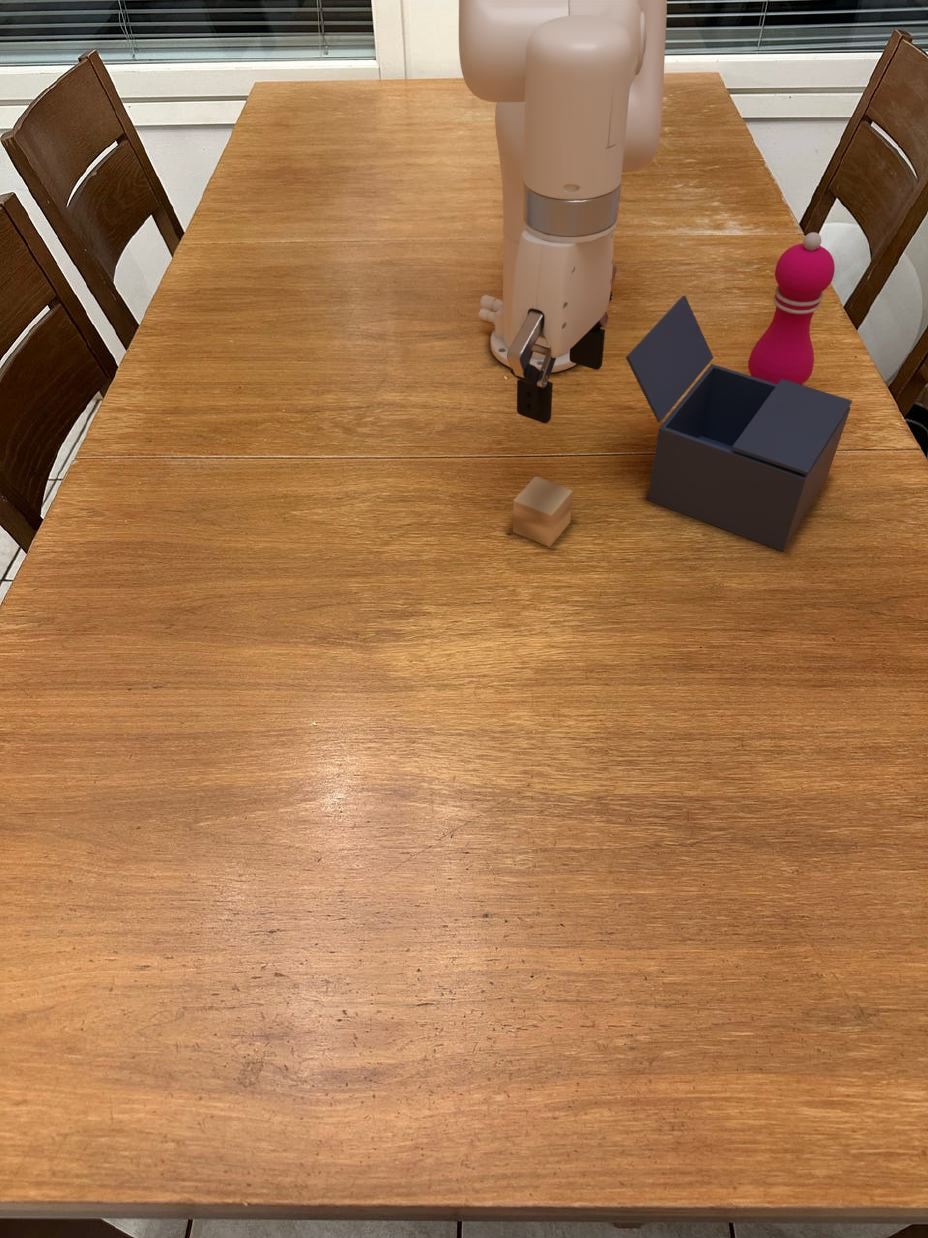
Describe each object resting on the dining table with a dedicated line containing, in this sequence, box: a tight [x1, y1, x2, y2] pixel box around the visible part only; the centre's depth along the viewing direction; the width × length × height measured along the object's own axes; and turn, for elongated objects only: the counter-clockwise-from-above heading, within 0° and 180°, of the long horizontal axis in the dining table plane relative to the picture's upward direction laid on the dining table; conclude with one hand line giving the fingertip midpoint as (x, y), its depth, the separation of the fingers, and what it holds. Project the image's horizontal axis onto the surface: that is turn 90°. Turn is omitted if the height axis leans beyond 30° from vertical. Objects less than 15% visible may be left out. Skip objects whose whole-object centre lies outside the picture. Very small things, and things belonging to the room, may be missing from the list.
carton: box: [647, 363, 853, 552], centre depth 98 cm, size 15×13×10 cm
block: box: [512, 475, 574, 548], centre depth 97 cm, size 4×4×4 cm
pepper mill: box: [747, 231, 836, 385], centre depth 105 cm, size 7×7×20 cm
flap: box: [625, 295, 714, 423], centre depth 95 cm, size 7×13×1 cm
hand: (560, 390), depth 87 cm, fingers open, 9 cm apart
